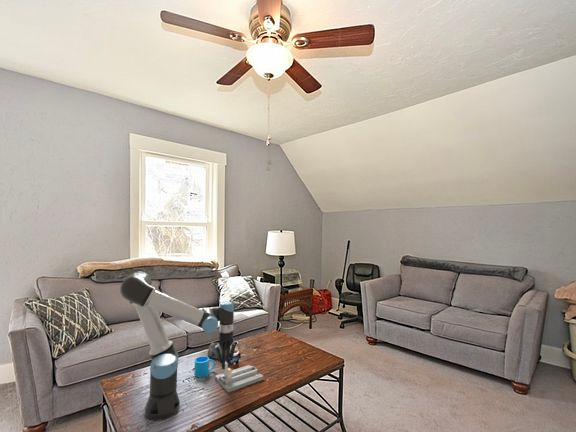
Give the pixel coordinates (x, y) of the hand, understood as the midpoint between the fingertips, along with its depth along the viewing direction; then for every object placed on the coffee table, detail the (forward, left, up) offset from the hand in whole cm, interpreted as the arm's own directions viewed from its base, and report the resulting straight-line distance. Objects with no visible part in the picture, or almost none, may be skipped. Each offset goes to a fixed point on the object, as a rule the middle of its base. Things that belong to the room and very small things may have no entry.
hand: (225, 374), depth 158 cm
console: (+9, 0, -5) cm, 10 cm away
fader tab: (+2, 0, -3) cm, 4 cm away
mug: (-4, +18, -6) cm, 19 cm away
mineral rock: (+9, +31, -6) cm, 33 cm away
